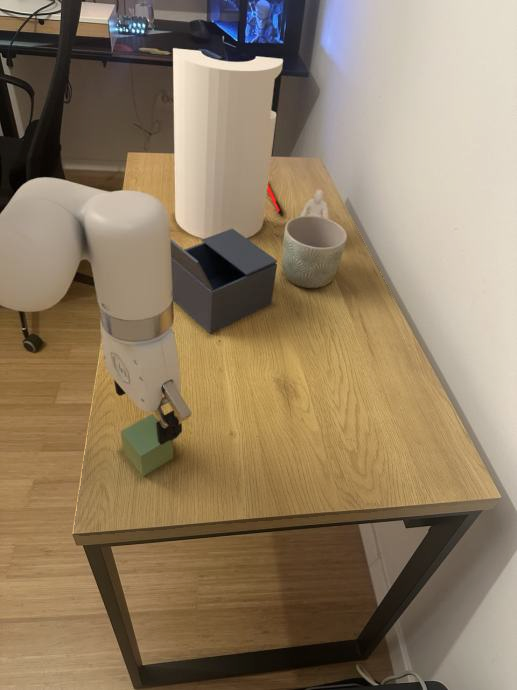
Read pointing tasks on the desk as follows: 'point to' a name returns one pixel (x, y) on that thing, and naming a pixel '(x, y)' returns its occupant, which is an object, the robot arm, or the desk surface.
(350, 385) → the desk surface
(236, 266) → the carton
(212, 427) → the desk surface
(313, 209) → the figurine
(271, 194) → the pen
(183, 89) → the white rounded tall casing
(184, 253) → the flap
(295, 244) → the planter
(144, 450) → the block
